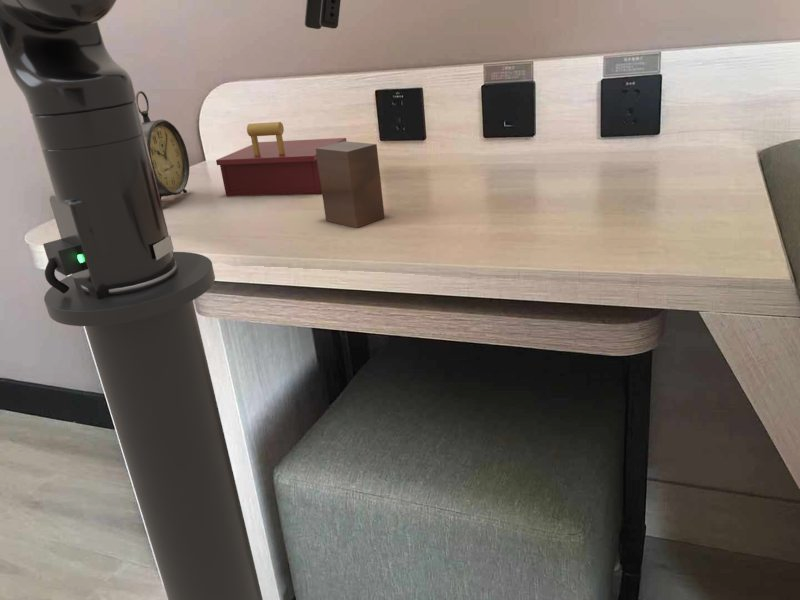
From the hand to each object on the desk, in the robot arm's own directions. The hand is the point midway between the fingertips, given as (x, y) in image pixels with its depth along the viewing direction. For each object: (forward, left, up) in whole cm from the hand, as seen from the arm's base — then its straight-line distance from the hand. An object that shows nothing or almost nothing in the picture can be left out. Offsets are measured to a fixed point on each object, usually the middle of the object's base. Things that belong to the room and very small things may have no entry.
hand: (320, 28), depth 88 cm
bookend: (-8, -12, -22) cm, 26 cm away
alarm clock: (-16, +23, -22) cm, 36 cm away
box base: (0, +13, -22) cm, 26 cm away
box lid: (0, +13, -17) cm, 22 cm away
